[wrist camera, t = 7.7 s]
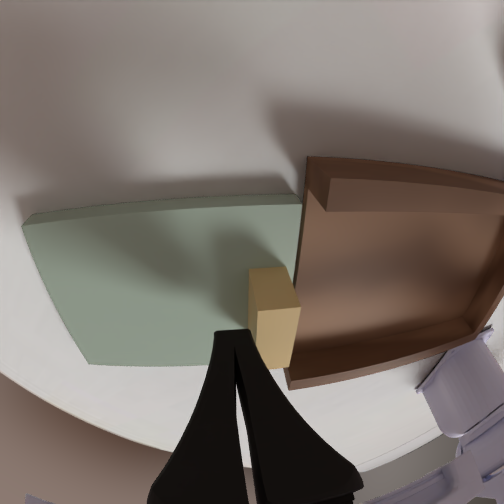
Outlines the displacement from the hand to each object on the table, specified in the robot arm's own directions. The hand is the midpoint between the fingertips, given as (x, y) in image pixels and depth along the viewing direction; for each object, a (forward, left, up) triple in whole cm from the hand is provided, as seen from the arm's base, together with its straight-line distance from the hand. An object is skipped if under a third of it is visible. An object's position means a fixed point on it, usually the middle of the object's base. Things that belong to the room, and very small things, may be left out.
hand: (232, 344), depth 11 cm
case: (0, -12, -3) cm, 12 cm away
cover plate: (0, +3, -4) cm, 5 cm away
